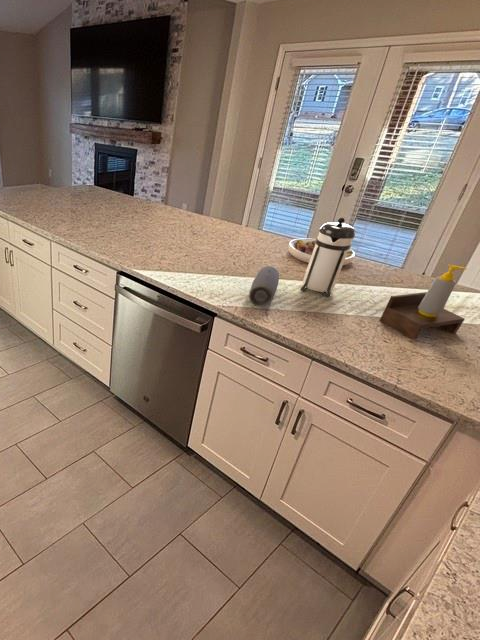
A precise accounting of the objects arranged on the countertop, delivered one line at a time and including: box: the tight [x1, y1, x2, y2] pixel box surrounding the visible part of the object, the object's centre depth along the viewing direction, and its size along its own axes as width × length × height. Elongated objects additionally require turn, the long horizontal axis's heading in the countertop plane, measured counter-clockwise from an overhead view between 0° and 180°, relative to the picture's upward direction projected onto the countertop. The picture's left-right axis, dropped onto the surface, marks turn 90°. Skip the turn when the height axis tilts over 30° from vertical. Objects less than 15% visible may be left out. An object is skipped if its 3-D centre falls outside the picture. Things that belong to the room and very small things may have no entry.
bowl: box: [287, 238, 356, 266], centre depth 205 cm, size 30×30×8 cm
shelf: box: [379, 291, 465, 341], centre depth 147 cm, size 14×20×10 cm
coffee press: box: [299, 217, 356, 298], centre depth 166 cm, size 17×16×30 cm
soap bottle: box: [418, 263, 468, 317], centre depth 140 cm, size 7×7×18 cm
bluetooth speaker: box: [248, 266, 280, 308], centre depth 162 cm, size 23×9×10 cm, turn 154°
